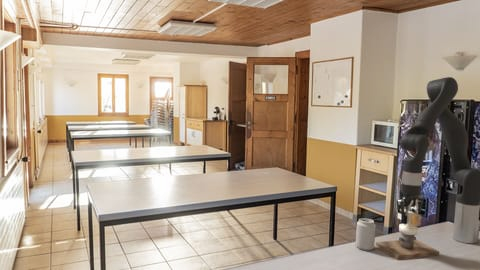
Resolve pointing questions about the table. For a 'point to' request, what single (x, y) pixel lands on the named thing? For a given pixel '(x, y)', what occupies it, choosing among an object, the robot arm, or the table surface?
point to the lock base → (406, 252)
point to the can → (365, 234)
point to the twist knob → (410, 223)
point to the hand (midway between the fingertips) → (408, 222)
